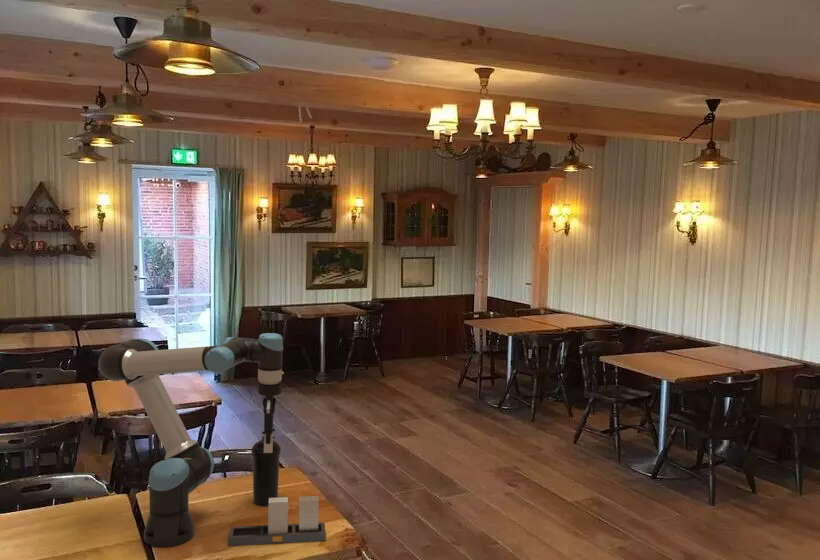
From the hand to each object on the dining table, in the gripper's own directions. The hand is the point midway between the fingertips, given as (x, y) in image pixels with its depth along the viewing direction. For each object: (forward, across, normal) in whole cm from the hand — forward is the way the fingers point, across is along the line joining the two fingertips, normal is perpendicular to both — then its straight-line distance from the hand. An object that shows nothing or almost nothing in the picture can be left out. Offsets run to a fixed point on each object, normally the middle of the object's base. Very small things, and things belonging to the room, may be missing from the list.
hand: (268, 452), depth 218 cm
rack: (+25, -8, -4) cm, 27 cm away
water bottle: (+26, +20, +2) cm, 33 cm away
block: (+25, -8, -4) cm, 26 cm away
